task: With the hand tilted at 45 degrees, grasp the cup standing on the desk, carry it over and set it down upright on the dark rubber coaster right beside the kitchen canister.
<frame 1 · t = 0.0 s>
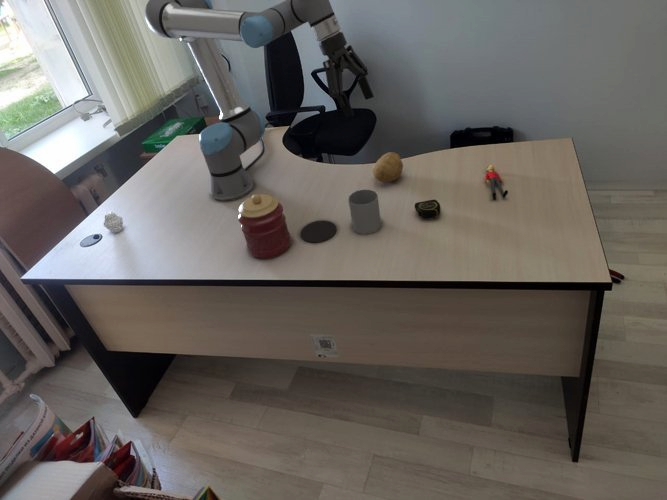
hand: (360, 107, 142), 28 cm above the table, tool tilted 20°, fingers open, 13 cm apart
tape measure: (427, 214, 141), on the table
coaster: (318, 231, 143), on the table
potato: (389, 179, 162), on the table
cup: (366, 226, 142), on the table
kitchen canister: (270, 246, 141), on the table
person figure: (494, 185, 149), on the table
beige knobbly lump: (117, 230, 163), on the table
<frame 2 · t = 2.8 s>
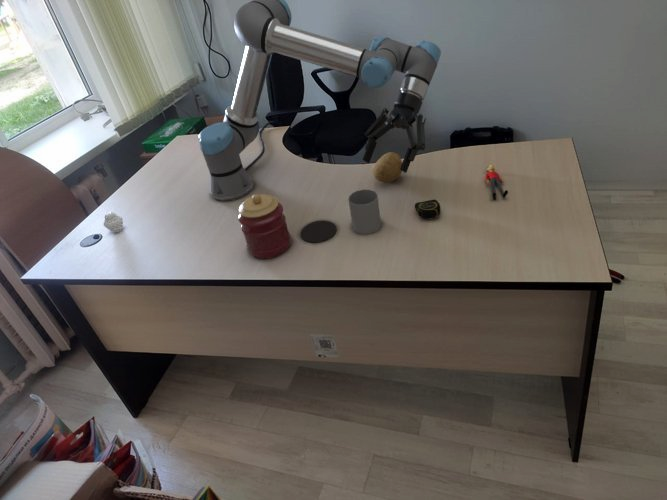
hand: (383, 166, 138), 15 cm above the table, tool tilted 45°, fingers open, 13 cm apart
nothing on the table moved.
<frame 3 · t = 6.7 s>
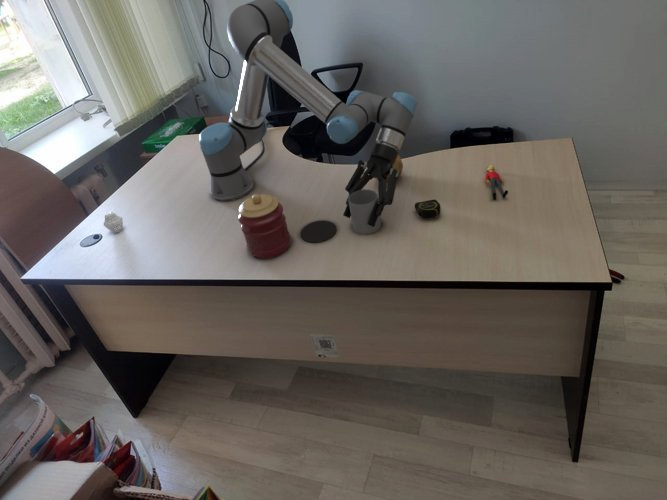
hand: (358, 221, 137), 4 cm above the table, tool tilted 45°, fingers closed on cup, 8 cm apart
cup: (366, 226, 142), on the table, touching gripper
everything else where it was.
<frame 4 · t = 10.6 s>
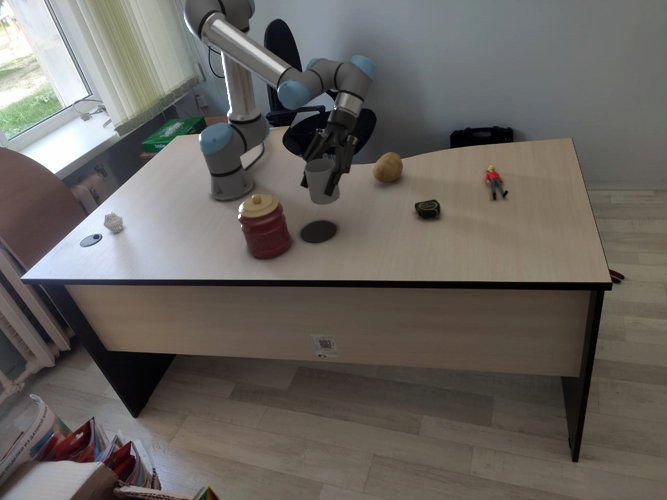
hand: (315, 191, 132), 15 cm above the table, tool tilted 45°, fingers closed on cup, 8 cm apart
cup: (325, 197, 136), point 11 cm above the table, touching gripper
everything else where it was.
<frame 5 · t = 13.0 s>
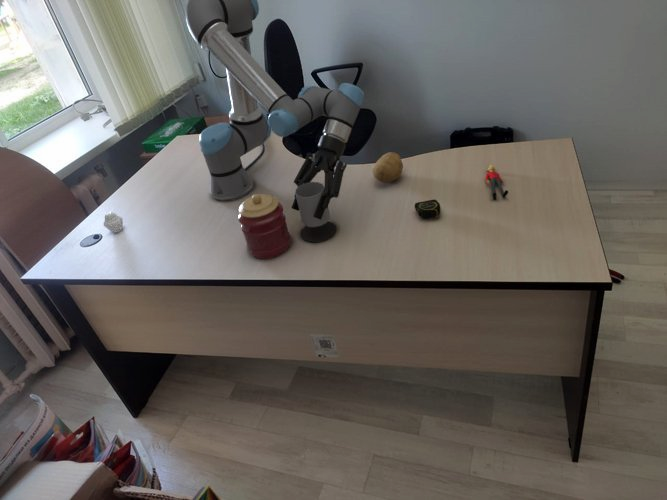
hand: (305, 213, 136), 8 cm above the table, tool tilted 45°, fingers closed on cup, 8 cm apart
cup: (316, 219, 140), point 5 cm above the table, touching gripper
everything else where it was.
when the fingers open (4 cm above the table, at t = 14.7 s): cup stays where it is, resting on coaster.
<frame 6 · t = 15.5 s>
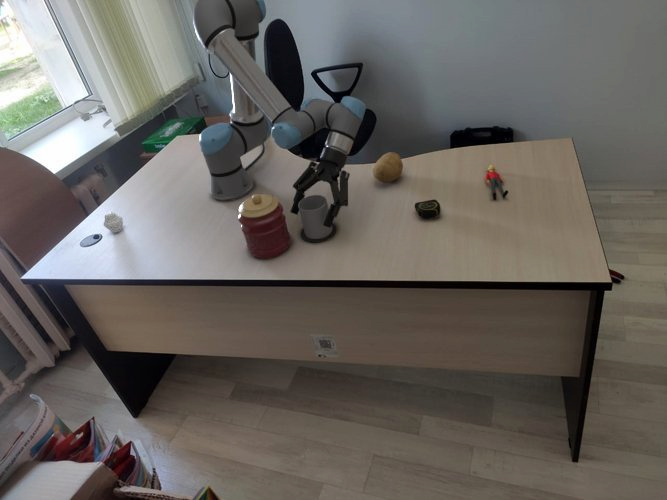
hand: (309, 220, 138), 6 cm above the table, tool tilted 45°, fingers open, 13 cm apart
cup: (318, 231, 143), resting on coaster
everything else where it was.
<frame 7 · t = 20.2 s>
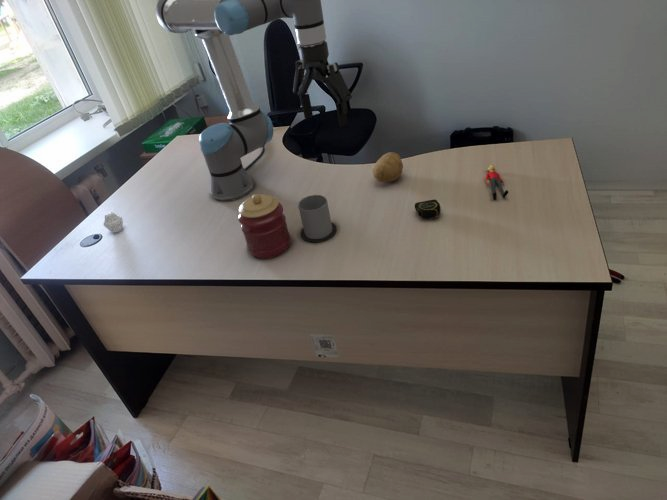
hand: (325, 120, 136), 29 cm above the table, tool pointing down, fingers open, 13 cm apart
nothing on the table moved.
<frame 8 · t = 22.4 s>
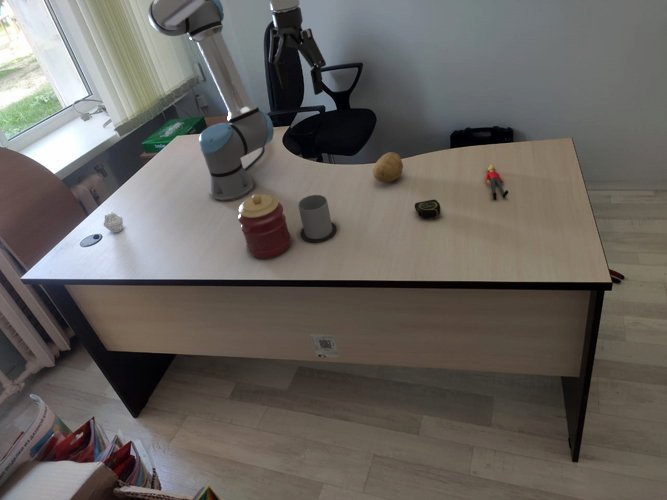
hand: (301, 90, 135), 37 cm above the table, tool pointing down, fingers open, 13 cm apart
nothing on the table moved.
at the end: cup 0.0 cm from the coaster (horizontally); cup inside the target area on the table beside the kitchen canister (0.0 cm from its centre), resting on coaster; cup tilted 0° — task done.
